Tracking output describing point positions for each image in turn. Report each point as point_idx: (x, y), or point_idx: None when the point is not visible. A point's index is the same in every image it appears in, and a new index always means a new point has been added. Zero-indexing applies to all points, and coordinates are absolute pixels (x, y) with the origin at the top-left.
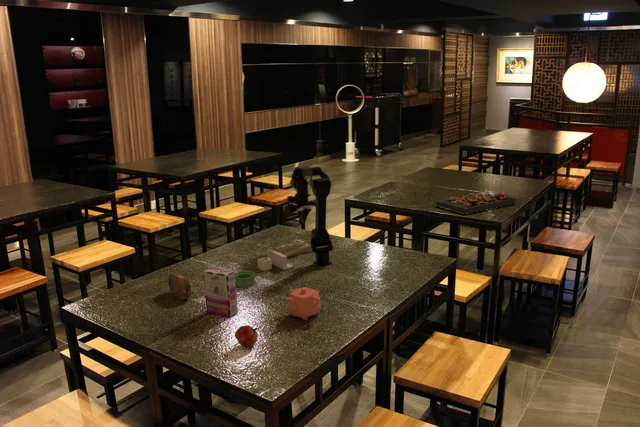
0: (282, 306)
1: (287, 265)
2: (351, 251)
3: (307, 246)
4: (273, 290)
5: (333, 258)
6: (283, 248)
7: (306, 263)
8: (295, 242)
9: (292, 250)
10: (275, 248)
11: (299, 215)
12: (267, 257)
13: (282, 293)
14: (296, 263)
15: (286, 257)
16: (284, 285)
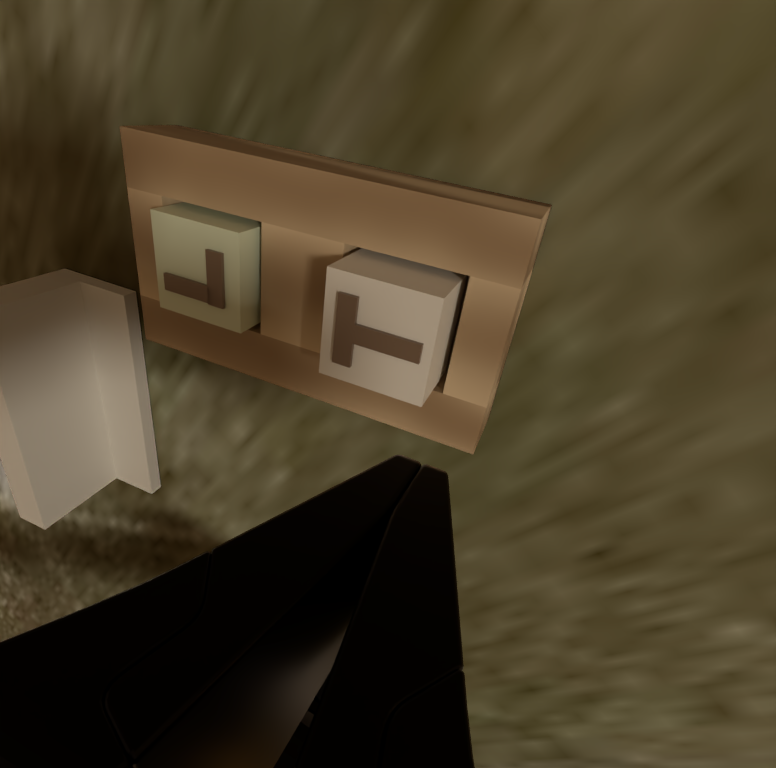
0: (6, 618)
1: (128, 462)
2: (727, 720)
3: (418, 434)
4: (6, 544)
5: (462, 638)
6: (164, 289)
7: (260, 522)
8: (327, 309)
9: (239, 368)
10: (126, 174)
11: (144, 609)
12: (29, 279)
13: (27, 582)
14: (211, 467)
15: (50, 522)
16: (51, 557)
